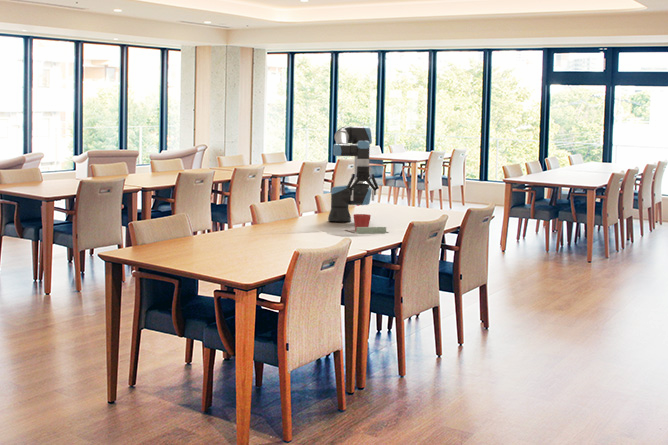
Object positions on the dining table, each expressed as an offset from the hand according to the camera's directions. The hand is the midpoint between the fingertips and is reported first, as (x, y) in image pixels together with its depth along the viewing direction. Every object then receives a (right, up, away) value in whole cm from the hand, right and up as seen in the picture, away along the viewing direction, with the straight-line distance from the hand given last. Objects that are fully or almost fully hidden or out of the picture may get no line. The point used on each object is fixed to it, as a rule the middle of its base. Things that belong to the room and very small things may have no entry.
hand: (362, 200), depth 471 cm
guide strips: (+2, -19, -7) cm, 20 cm away
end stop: (+5, -20, -16) cm, 26 cm away
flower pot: (0, -18, +2) cm, 19 cm away
